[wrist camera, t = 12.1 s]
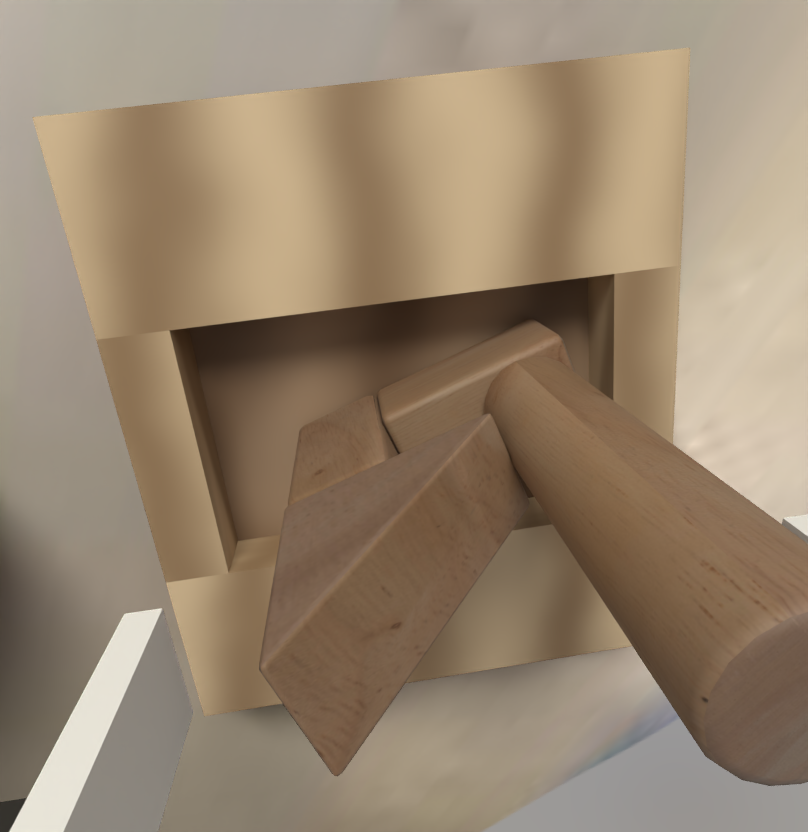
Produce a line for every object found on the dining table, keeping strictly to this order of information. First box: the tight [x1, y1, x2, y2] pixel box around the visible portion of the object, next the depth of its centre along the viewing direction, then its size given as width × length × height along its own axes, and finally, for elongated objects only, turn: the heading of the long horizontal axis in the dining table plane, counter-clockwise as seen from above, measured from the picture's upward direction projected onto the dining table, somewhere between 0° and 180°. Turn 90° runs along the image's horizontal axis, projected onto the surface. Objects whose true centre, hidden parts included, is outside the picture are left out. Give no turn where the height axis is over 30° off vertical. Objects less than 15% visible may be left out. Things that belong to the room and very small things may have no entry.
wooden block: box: [259, 319, 808, 786], centre depth 18 cm, size 4×11×18 cm, turn 115°
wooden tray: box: [33, 48, 690, 716], centre depth 25 cm, size 21×24×4 cm
